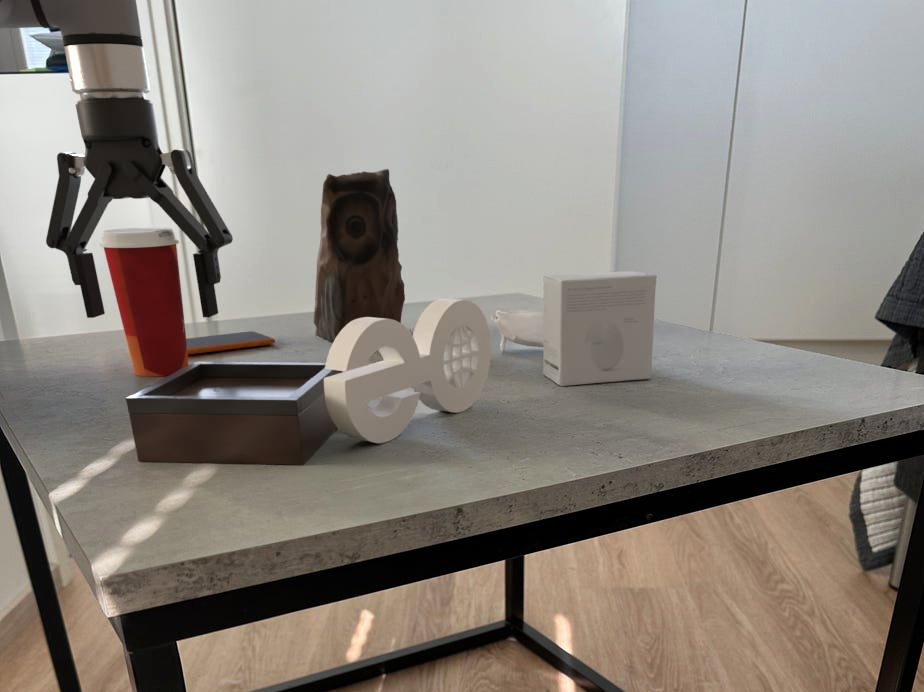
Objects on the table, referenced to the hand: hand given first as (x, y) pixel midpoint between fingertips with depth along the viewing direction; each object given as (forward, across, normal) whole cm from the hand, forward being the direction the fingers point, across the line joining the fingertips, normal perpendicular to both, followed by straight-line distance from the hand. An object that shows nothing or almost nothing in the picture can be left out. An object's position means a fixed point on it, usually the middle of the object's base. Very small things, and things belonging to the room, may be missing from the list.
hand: (153, 316), depth 104 cm
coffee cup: (+6, 0, 0) cm, 6 cm away
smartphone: (+6, 0, -13) cm, 14 cm away
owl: (+6, -18, -22) cm, 29 cm away
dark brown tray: (+6, -20, +27) cm, 34 cm away
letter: (+7, -34, +21) cm, 40 cm away
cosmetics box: (+7, -50, +1) cm, 50 cm away
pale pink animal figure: (+7, -43, -13) cm, 45 cm away
